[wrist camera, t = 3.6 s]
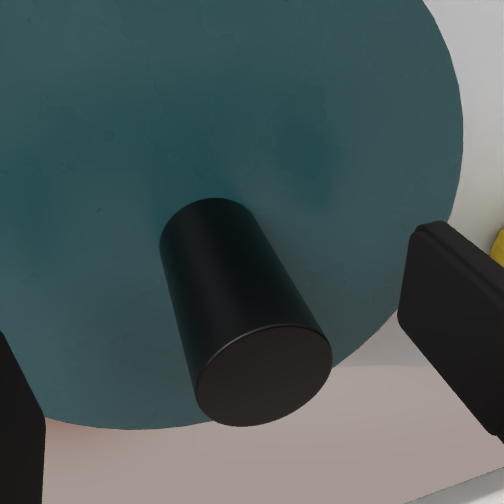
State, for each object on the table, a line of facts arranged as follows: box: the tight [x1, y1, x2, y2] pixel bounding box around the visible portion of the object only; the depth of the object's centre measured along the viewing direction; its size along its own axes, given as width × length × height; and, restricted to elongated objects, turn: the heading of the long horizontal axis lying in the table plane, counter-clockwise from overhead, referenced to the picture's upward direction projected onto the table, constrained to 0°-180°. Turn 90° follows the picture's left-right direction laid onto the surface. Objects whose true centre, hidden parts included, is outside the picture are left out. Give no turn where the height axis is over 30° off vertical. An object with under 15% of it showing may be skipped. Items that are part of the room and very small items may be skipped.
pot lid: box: [0, 0, 463, 430], centre depth 11 cm, size 16×16×6 cm
